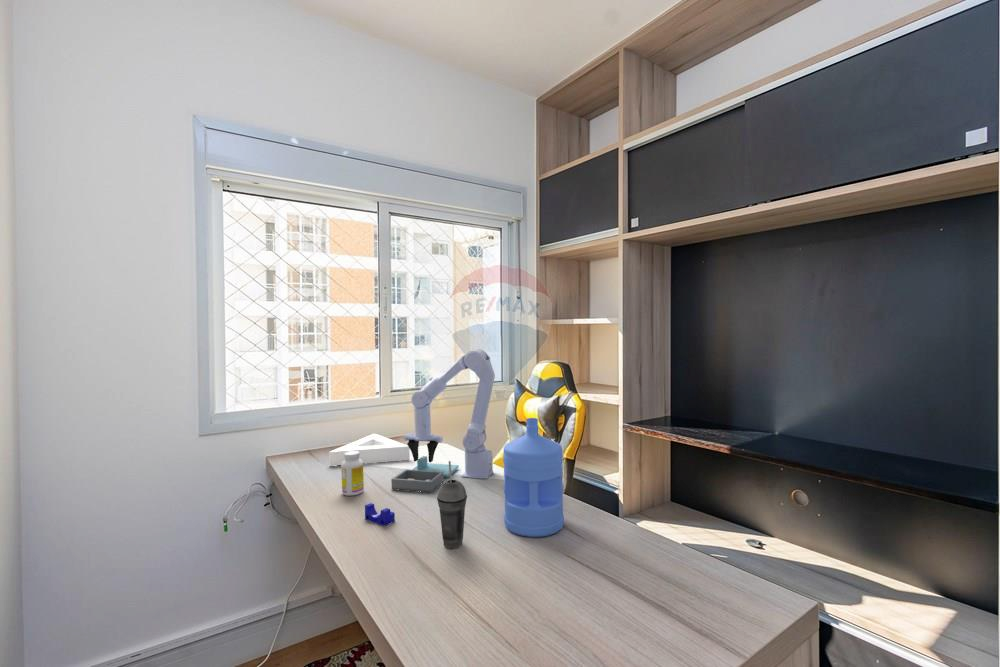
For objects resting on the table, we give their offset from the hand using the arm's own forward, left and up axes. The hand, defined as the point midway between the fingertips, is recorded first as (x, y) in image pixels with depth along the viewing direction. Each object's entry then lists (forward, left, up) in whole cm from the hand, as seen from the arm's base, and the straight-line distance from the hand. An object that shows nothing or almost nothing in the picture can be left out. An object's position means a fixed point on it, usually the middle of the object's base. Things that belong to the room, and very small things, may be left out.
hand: (423, 461), depth 166 cm
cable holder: (-6, +40, -4) cm, 41 cm away
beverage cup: (-30, +49, -4) cm, 58 cm away
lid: (-4, 0, -3) cm, 5 cm away
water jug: (-48, +34, -4) cm, 59 cm away
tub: (-4, +14, -4) cm, 15 cm away
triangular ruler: (+31, -16, -5) cm, 35 cm away
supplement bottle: (+14, +24, -4) cm, 28 cm away
